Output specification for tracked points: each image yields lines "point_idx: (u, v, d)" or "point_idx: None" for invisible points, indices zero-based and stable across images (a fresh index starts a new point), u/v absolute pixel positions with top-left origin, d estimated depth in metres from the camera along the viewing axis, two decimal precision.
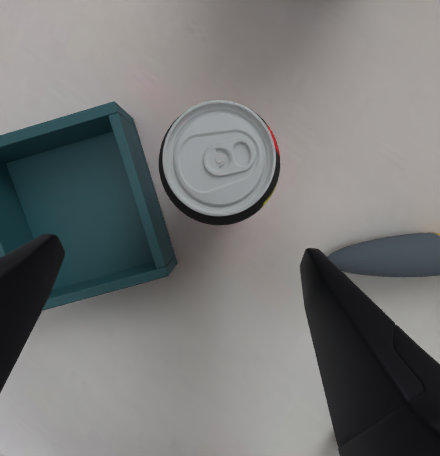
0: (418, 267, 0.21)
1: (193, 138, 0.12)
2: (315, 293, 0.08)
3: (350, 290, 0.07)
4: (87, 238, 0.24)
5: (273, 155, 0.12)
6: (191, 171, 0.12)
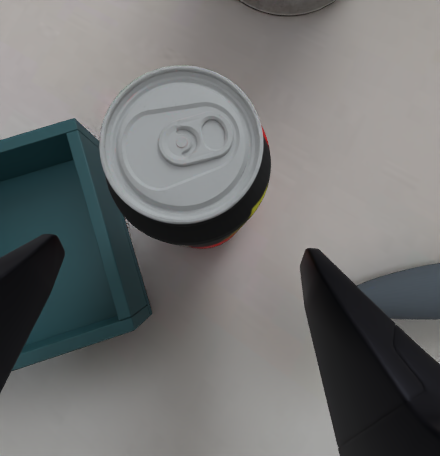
0: None
1: (145, 116, 0.08)
2: (315, 293, 0.08)
3: (350, 290, 0.07)
4: None
5: (259, 133, 0.08)
6: (141, 160, 0.08)
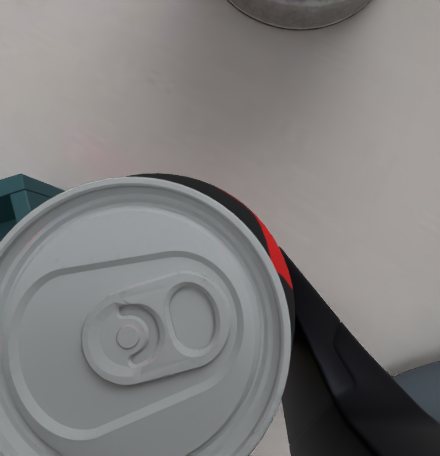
0: None
1: (59, 278, 0.04)
2: None
3: (302, 288, 0.07)
4: None
5: (282, 318, 0.04)
6: (49, 372, 0.04)
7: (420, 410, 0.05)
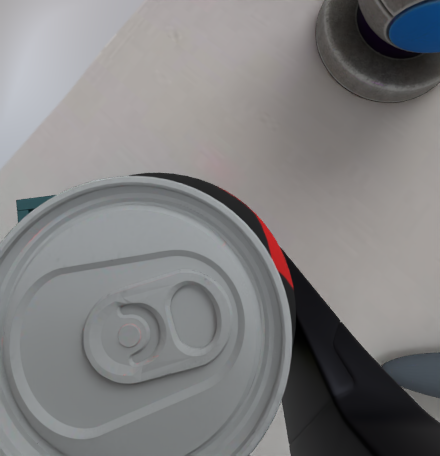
0: None
1: (60, 277, 0.04)
2: None
3: (302, 287, 0.07)
4: None
5: (283, 318, 0.04)
6: (50, 371, 0.04)
7: (420, 410, 0.05)
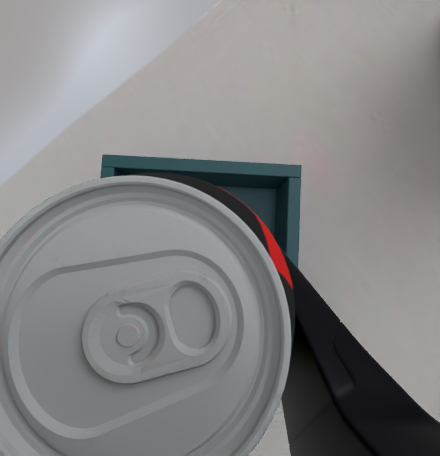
0: None
1: (58, 276, 0.04)
2: None
3: (302, 287, 0.07)
4: None
5: (283, 317, 0.04)
6: (49, 371, 0.04)
7: (420, 410, 0.05)
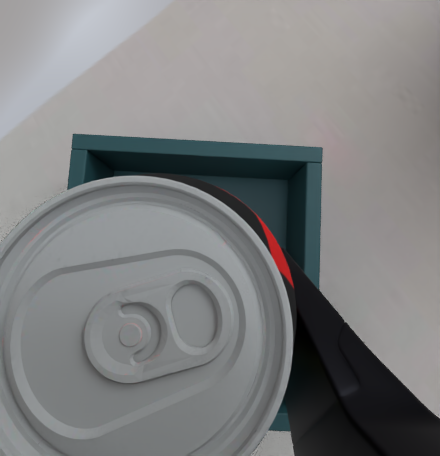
0: None
1: (60, 276, 0.04)
2: None
3: (306, 288, 0.07)
4: None
5: (284, 316, 0.04)
6: (51, 371, 0.04)
7: (426, 410, 0.05)
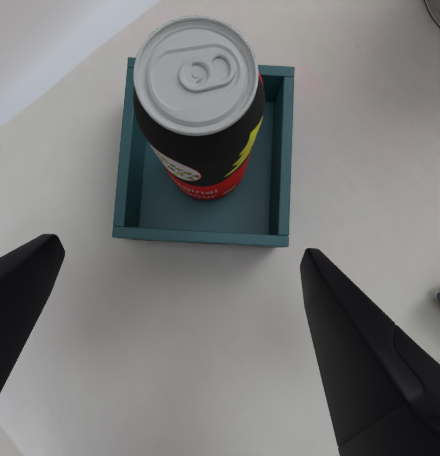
0: None
1: (167, 55, 0.11)
2: (315, 293, 0.08)
3: (350, 290, 0.07)
4: None
5: (255, 67, 0.11)
6: (165, 88, 0.11)
7: None
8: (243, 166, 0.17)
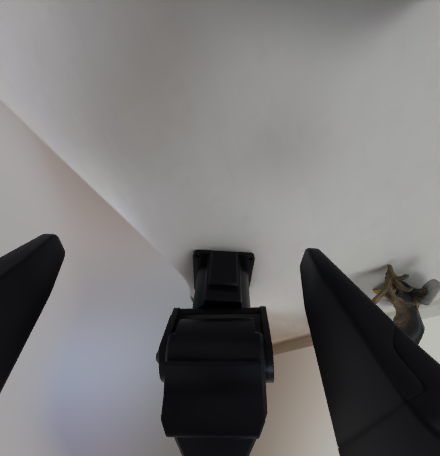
0: None
1: None
2: (315, 293, 0.08)
3: (350, 290, 0.07)
4: None
5: None
6: None
7: None
8: None
